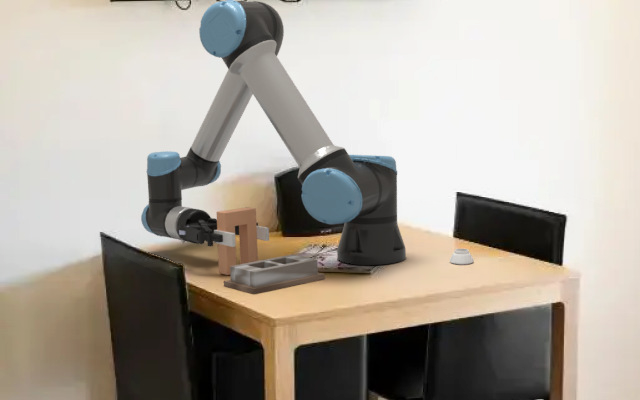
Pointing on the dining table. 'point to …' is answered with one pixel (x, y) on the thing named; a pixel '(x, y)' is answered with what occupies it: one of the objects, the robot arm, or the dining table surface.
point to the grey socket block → (273, 274)
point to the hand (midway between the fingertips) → (250, 237)
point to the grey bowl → (461, 257)
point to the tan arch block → (246, 237)
